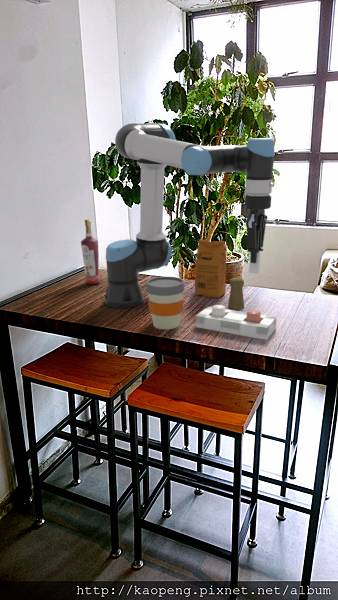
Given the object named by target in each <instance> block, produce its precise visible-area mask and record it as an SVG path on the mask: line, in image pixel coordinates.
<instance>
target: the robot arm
mask: <svg viewBox="0 0 338 600" xmlns="http://www.w3.org/2000/svg"><path fill="white" fill-rule="evenodd" d="M114 140H115V141H114V144H115V148H116V150H117V152H118V153H119V155H121V156H122V157H124V158H127V159H131V160H133V161H134V160H135V161H136V164H137V165H138V166H139V167H140V204H139V205H140V214H139V215H140V222H139V231H138V233H137V234H135V240H134V239H130V238H129V239H128V238H127V239H119V240H116V241H113V242H111V243H109V244H108V245H107V247H106V248H105V261H106V272H107V273H106V274H107V275H106V276H107V286H106V290H105V295H104V304H105V306H107V307H110V308H115V309H129V308H134V307H137V306H140V305H142V304H143V303H144V302H145V297H144V296H145V294H144V293H143V291H142V288H141V285H140V282H139V273H143V272H147V271H151V270H158V269H160V268H162V267H165V266H166V265H168V264H169V262H170V261H171V258H172V255H173V253H172V246H171V244H170V243H171V242H170V241H169V240H168V238H167V236H166V234H165V233H164V232H163V219H164V217H163V216H164V191H165V190H164V189H165V186H164V185H165V168H167V166H170V167H174V168H177V169H181V170H184V172H185V173H186V174H187V175H191V176H203V175H208V174H209V175H210V174H221V173H245V190H244V192H245V197H244V207H245V208H246V209H248V210H250V211H249V215H248V220H247V221H245V226H246V243H247V245H246V246H247V250H246V252H248V253H249V267H248V272H249V273H252V274H259V273H260V265H261V264H260V262H261V252H264V248H263V247H264V243H265V242H264V241H265V233H266V225H267V220H268V215H266V214H265V213H266V210H268V209H270V208H271V207H272V195H271V194H272V191H273V190H272V188H273V187H274V186H275V183H274V182H273V171H274V161H275V154H276V153H275V141H274V139H273V138H270V137H265V138H264V137H263V138H262V137H260V138H254V137H253V138H252V137H251V138H248V140H247V144H246V145H239V144H238V145H237V144H236V145H232V144H224V145H212V146H211V145H209V146H208V145H200V144H195V143H190V142H186V141H181V140H177V139H176V135H175V133H174V131H173V130H172V128H170V126H168V125H167V124H165V123H158V122H153V123H152V122H151V123H147V122H146V123H136V122H135V123H128V124H125V125H123V126H121V128H120V129H119V130H118V131H117V133H116V135H115V139H114Z"/></svg>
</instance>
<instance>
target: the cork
mask: <svg viewBox="0 0 338 600" xmlns="http://www.w3.org/2000/svg"><path fill="white" fill-rule="evenodd" d="M244 285H245V281H244V279H243V278H242V277H232V278H230V280H229V286H230V291H229V298H228V303H227V308H228V309H229V310H234V311H239V310H243V309H244V308H245V301H244V291H243V290H244V289H243V287H244Z"/></svg>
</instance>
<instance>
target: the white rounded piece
mask: <svg viewBox="0 0 338 600" xmlns="http://www.w3.org/2000/svg"><path fill="white" fill-rule="evenodd" d="M211 307H212V316H216V317H222V318H223V317H224V316H225V309H226V306H225V305H222V304H214V305H212V306H211Z"/></svg>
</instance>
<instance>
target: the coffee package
mask: <svg viewBox="0 0 338 600" xmlns="http://www.w3.org/2000/svg"><path fill="white" fill-rule="evenodd" d="M225 244H226V242H225V241H224V240H220V241H217V240H216V241H209V240H205V239H201V238H200V239H198V244H197V245H198V246H197V252H196V258H195V264H194V265H195V269H194V272H195V273H194V295H195V296H203V297H206V298H217V299H218V298H221V297H222V296H223V295H224V293H226V291H227V289H226V288H227V287H226V277H227V255H226V254H227V253H226V248H225V247H226V246H225Z"/></svg>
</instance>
